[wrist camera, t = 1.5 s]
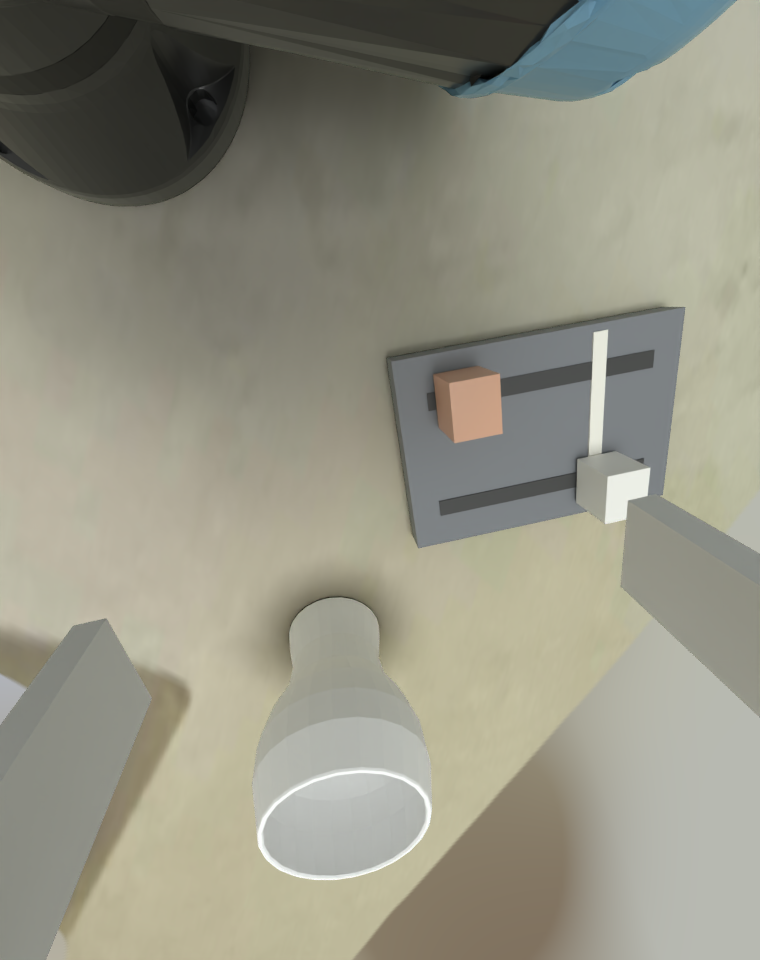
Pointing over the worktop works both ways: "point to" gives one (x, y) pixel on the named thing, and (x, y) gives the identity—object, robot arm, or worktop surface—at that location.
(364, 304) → the worktop surface
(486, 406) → the fader front
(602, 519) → the block
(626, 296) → the worktop surface
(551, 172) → the worktop surface
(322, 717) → the cup
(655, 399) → the console
